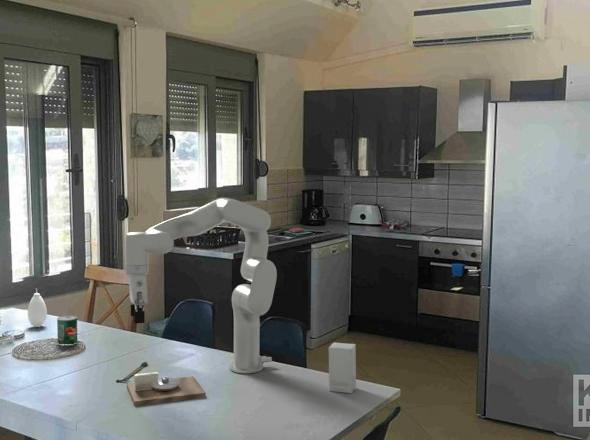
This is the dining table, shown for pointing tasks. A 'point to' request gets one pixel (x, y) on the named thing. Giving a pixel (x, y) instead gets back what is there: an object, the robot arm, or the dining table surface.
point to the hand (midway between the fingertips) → (137, 319)
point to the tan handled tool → (132, 373)
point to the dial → (154, 382)
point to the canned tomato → (67, 329)
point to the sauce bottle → (37, 310)
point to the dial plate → (167, 392)
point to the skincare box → (342, 367)
